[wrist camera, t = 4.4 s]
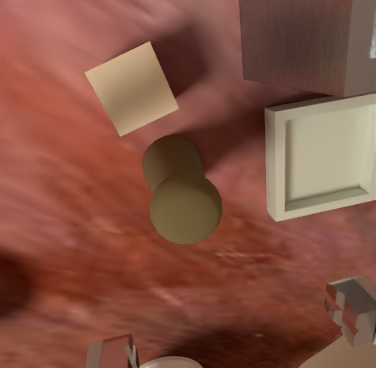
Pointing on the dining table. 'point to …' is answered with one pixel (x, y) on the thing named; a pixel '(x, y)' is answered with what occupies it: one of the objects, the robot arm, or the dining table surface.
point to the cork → (180, 191)
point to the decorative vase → (171, 363)
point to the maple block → (133, 89)
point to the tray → (320, 154)
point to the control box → (310, 44)
